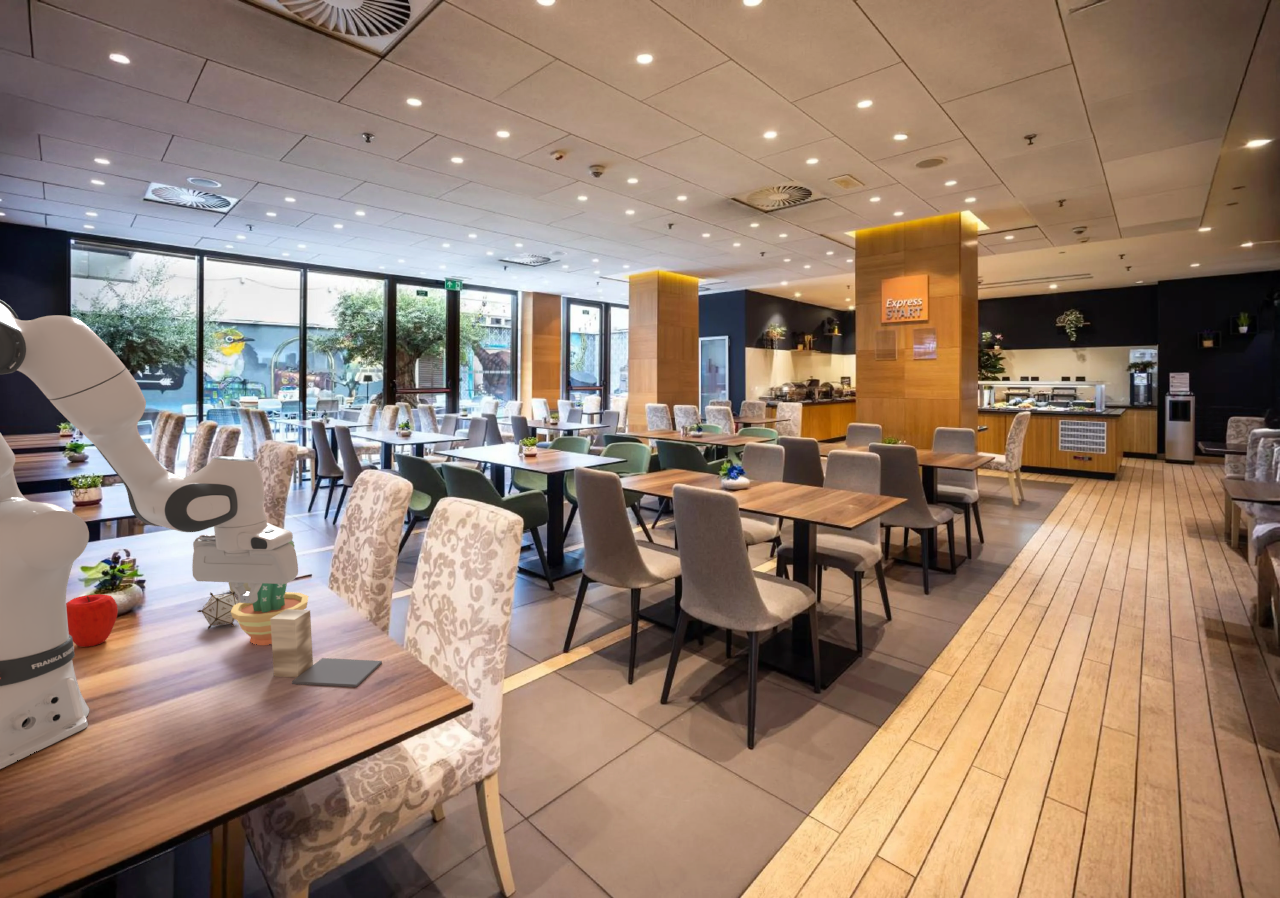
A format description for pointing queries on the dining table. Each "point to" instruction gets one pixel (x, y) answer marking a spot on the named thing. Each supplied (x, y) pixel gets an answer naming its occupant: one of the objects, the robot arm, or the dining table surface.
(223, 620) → the game die
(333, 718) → the dining table surface
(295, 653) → the birch block
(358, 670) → the mat
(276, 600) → the potted cactus
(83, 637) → the apple
